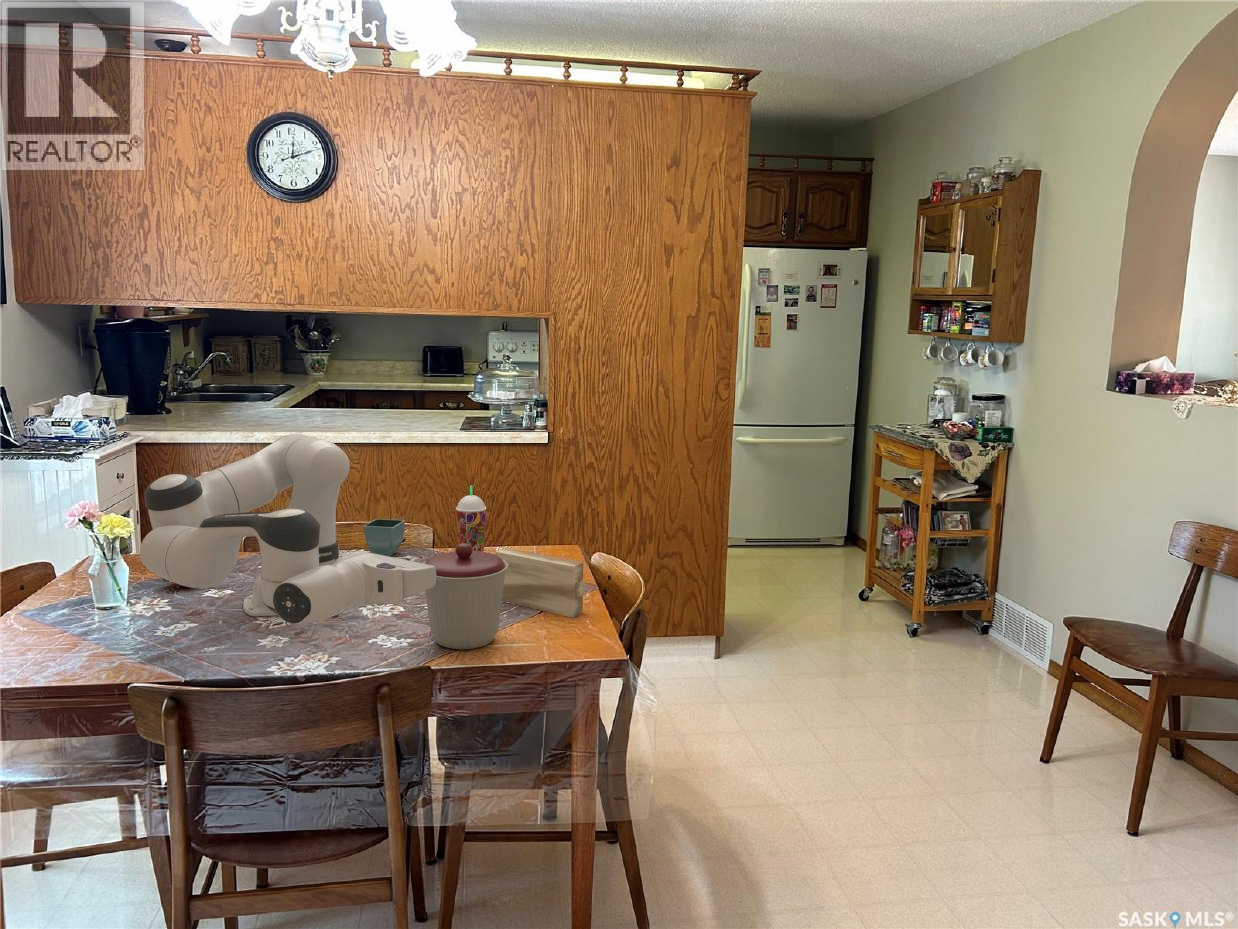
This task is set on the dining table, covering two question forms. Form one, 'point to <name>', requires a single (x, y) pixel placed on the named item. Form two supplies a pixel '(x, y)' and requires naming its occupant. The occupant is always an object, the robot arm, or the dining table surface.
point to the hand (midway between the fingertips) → (415, 560)
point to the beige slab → (543, 582)
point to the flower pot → (384, 536)
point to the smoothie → (471, 521)
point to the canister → (465, 597)
